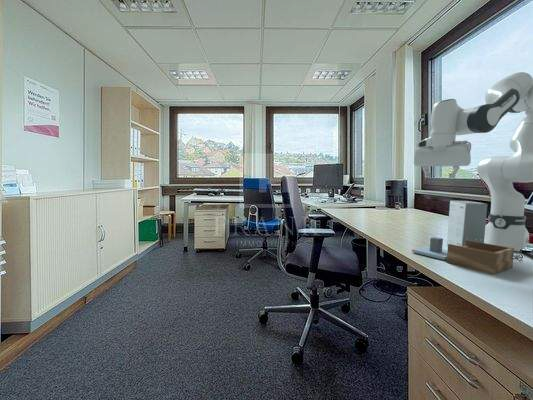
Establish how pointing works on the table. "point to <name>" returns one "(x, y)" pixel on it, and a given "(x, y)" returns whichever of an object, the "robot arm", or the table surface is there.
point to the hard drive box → (466, 222)
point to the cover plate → (433, 254)
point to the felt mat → (430, 256)
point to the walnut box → (481, 256)
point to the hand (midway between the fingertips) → (439, 177)
